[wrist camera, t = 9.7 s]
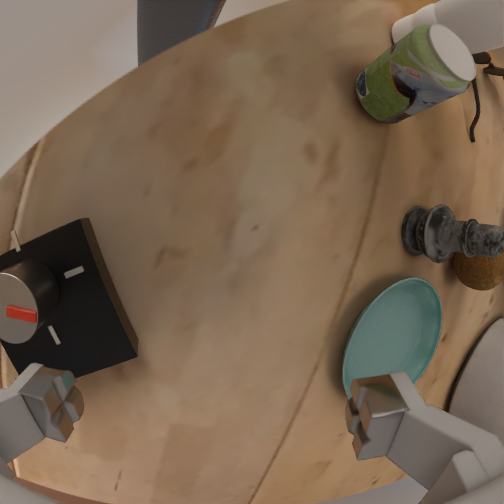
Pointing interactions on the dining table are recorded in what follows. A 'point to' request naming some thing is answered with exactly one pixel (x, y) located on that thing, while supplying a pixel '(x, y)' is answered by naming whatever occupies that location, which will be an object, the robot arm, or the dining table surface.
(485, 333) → the planter
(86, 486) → the dining table surface
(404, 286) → the saucer
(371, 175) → the dining table surface
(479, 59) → the eyeglasses
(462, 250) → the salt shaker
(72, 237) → the dial base
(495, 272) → the fruit
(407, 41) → the beverage can
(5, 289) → the hob knob
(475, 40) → the water bottle
